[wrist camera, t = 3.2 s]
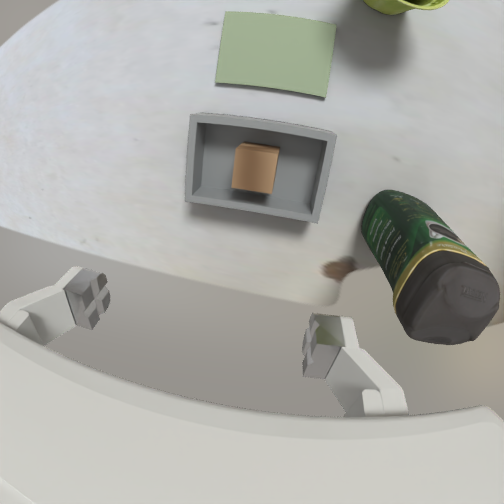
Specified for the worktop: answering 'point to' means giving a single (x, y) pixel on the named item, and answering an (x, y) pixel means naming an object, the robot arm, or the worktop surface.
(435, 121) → the worktop surface
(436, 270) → the coffee jar
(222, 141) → the grey bin
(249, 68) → the olive mat
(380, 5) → the plant pot
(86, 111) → the worktop surface
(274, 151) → the walnut block
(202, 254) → the worktop surface
